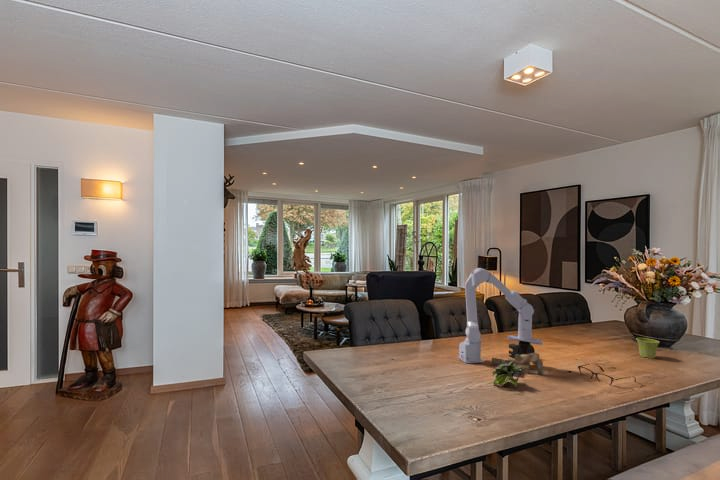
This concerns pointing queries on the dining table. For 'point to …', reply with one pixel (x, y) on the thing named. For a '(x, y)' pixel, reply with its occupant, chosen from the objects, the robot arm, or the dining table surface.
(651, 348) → the plant pot
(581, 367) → the eyeglasses
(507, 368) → the leafy green plant
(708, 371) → the dining table surface
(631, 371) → the dining table surface
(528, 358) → the hinged leg
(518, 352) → the end cap
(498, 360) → the stool base
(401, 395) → the dining table surface
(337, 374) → the dining table surface
